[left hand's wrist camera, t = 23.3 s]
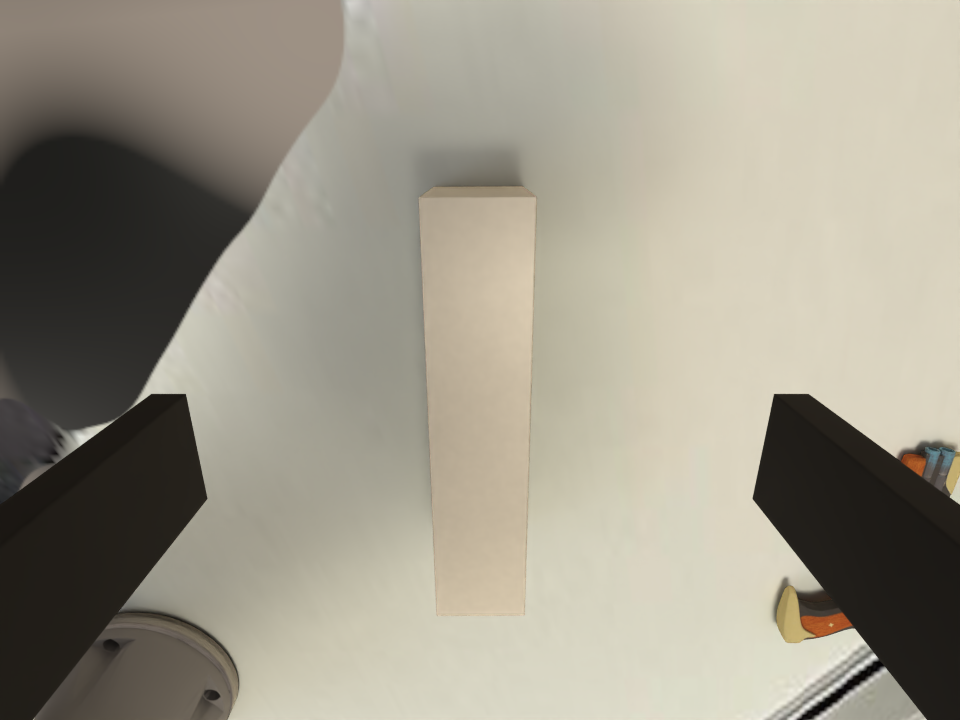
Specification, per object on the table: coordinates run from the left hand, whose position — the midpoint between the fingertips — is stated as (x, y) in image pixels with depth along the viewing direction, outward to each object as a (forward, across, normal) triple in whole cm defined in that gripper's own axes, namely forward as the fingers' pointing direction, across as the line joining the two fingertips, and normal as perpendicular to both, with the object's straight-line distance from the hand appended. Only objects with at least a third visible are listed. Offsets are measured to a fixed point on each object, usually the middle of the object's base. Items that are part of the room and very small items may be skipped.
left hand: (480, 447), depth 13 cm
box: (+26, 0, -9) cm, 28 cm away
